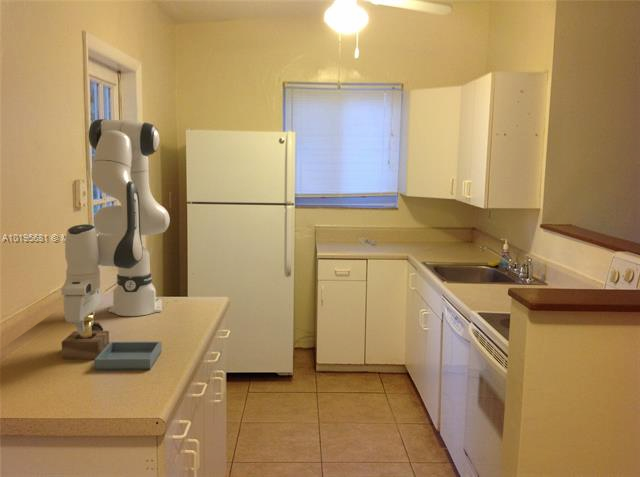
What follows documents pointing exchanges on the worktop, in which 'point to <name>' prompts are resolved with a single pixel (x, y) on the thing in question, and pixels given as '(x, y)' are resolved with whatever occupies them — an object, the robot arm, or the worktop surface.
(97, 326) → the bolt
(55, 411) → the worktop surface
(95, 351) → the holder
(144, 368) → the tray
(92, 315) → the pin
